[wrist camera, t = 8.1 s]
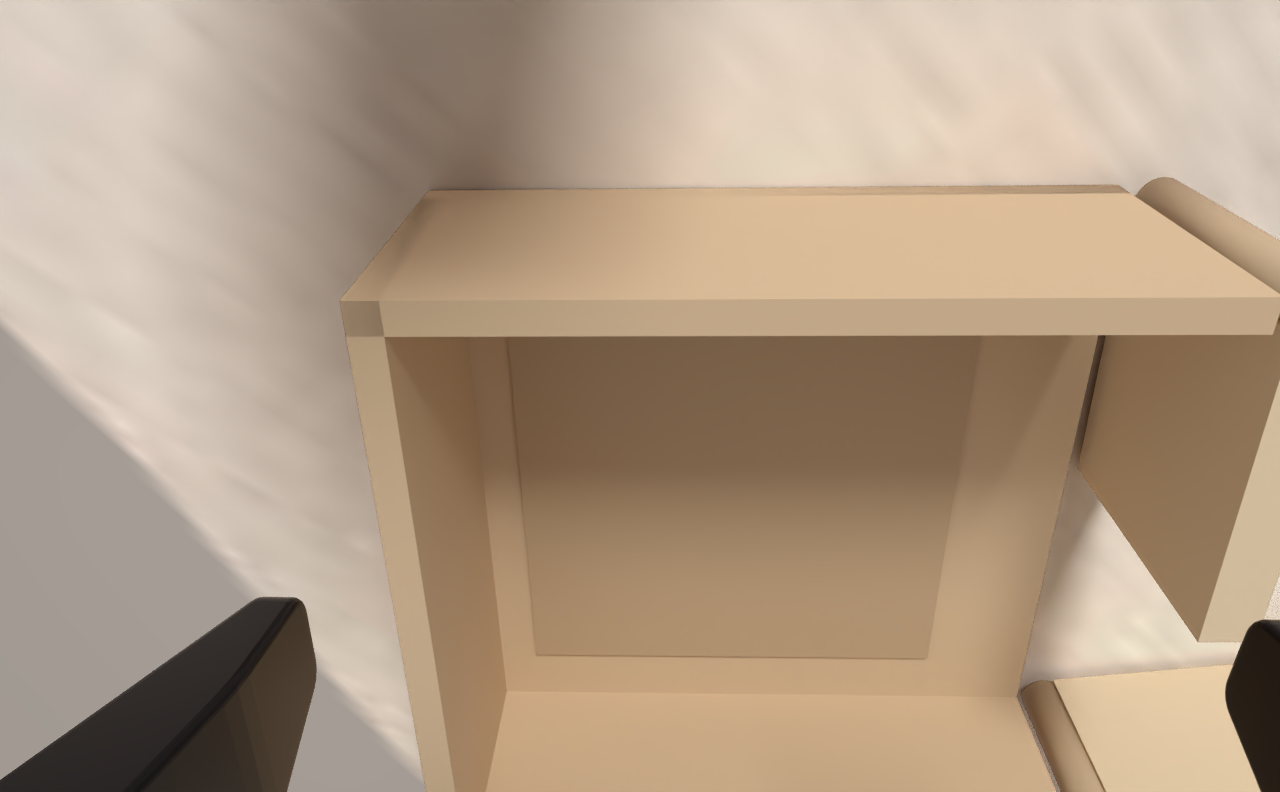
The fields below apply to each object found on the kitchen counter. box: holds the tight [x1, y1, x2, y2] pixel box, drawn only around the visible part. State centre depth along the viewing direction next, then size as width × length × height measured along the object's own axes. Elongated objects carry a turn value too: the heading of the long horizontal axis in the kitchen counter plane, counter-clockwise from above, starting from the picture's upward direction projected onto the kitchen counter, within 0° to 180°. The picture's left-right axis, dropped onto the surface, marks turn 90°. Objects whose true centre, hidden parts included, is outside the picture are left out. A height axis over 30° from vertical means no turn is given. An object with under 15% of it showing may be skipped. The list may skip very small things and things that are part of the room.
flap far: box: [1021, 664, 1261, 792], centre depth 23 cm, size 1×7×6 cm, turn 99°
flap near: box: [1078, 177, 1280, 642], centre depth 18 cm, size 1×7×6 cm, turn 1°
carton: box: [340, 185, 1280, 792], centre depth 20 cm, size 14×14×6 cm
